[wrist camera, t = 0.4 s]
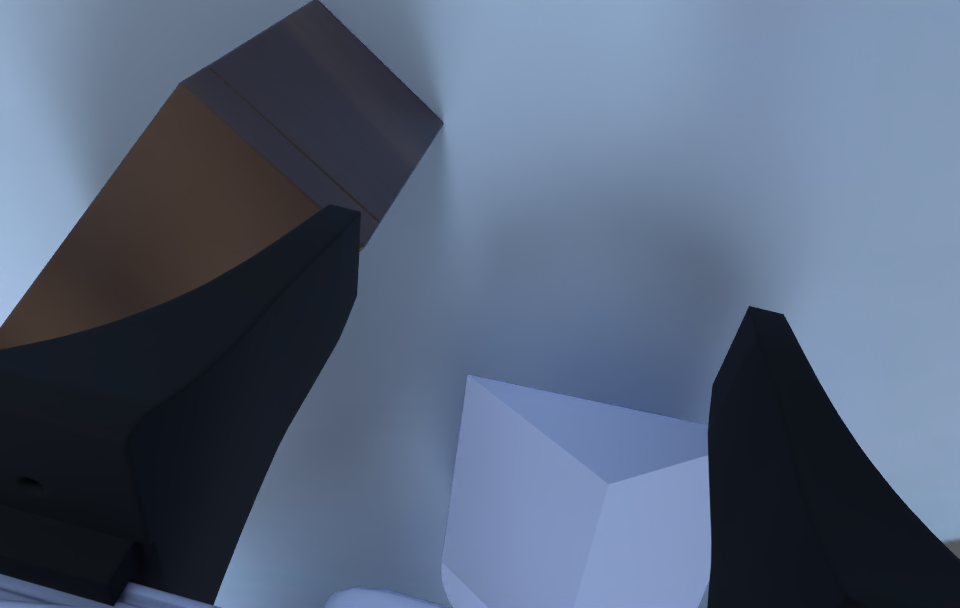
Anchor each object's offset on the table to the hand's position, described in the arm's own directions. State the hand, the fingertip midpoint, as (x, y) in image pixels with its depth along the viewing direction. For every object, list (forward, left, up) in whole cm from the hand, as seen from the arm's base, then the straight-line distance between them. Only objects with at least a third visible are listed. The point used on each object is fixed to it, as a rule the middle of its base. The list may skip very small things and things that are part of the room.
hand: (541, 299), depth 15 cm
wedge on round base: (-10, -10, -10) cm, 18 cm away
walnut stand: (-10, +5, -10) cm, 15 cm away
